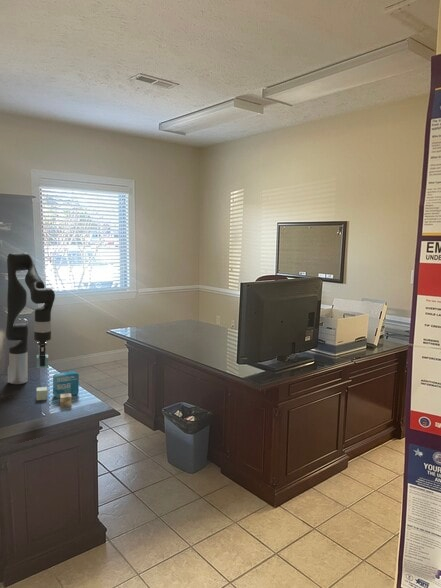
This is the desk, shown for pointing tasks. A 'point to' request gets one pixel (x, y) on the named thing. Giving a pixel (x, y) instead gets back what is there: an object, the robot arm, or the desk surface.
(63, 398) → the maple block
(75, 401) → the desk surface
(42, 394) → the sage block
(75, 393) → the data package
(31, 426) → the desk surface
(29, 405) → the desk surface
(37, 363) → the teal block
